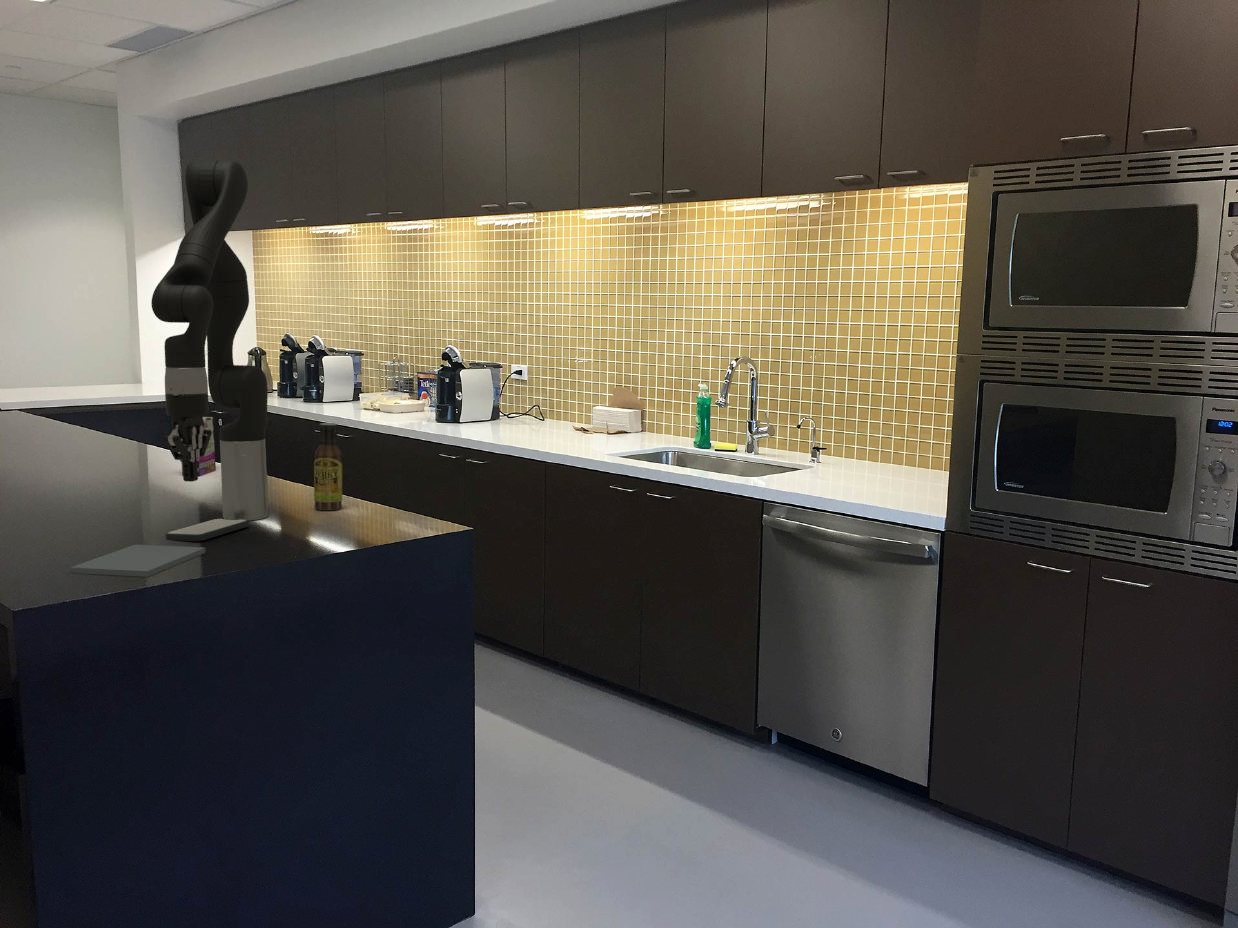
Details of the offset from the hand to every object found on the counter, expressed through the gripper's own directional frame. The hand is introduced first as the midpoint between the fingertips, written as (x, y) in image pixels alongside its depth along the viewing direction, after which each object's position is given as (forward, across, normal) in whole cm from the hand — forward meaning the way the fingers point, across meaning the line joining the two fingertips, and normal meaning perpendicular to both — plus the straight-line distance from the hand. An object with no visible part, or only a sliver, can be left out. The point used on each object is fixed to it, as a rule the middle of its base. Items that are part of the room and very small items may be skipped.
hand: (190, 480), depth 190 cm
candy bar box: (+12, -74, -42) cm, 86 cm away
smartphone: (+11, 0, -3) cm, 12 cm away
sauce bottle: (+12, -38, +11) cm, 41 cm away
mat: (+12, +17, 0) cm, 21 cm away
